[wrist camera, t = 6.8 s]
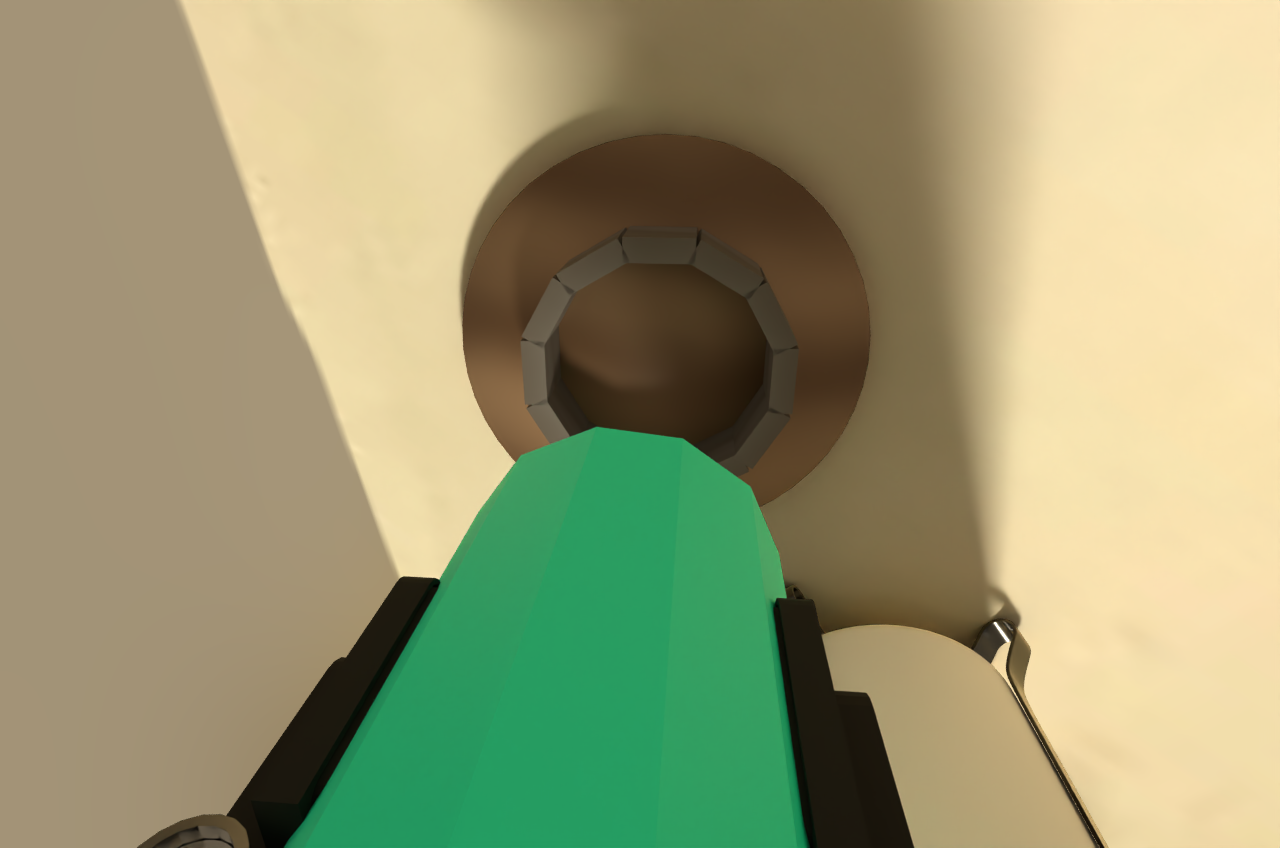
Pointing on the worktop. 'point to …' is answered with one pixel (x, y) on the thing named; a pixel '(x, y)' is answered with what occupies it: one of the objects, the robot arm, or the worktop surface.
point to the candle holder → (670, 309)
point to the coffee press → (961, 737)
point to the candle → (586, 671)
